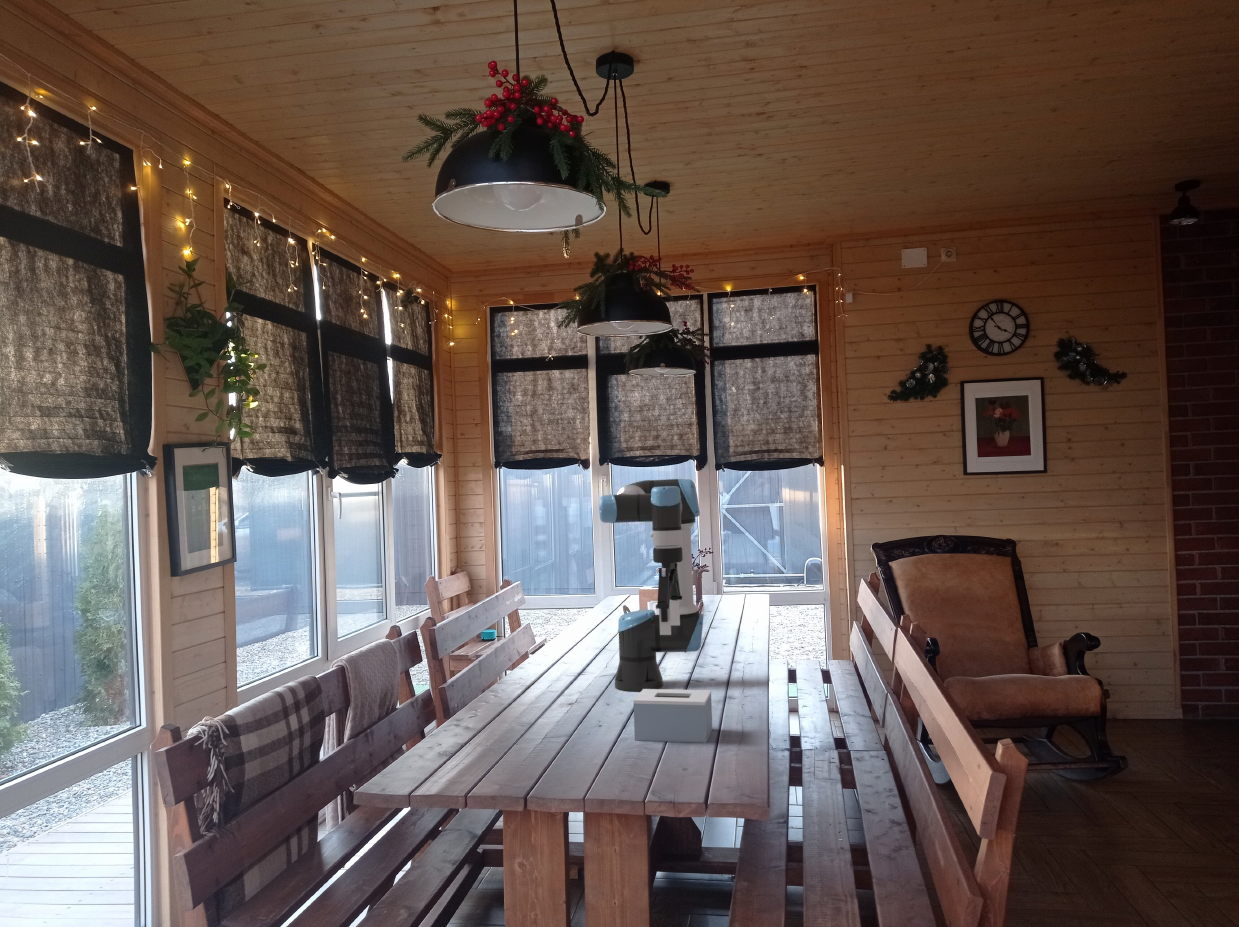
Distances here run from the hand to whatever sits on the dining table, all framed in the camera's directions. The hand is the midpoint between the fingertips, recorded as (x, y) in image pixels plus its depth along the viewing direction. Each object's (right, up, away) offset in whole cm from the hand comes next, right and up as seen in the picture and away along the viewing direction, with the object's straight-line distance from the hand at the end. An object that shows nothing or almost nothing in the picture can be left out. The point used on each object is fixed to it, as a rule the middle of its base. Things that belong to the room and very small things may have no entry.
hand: (670, 630), depth 234 cm
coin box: (+1, -27, 0) cm, 27 cm away
